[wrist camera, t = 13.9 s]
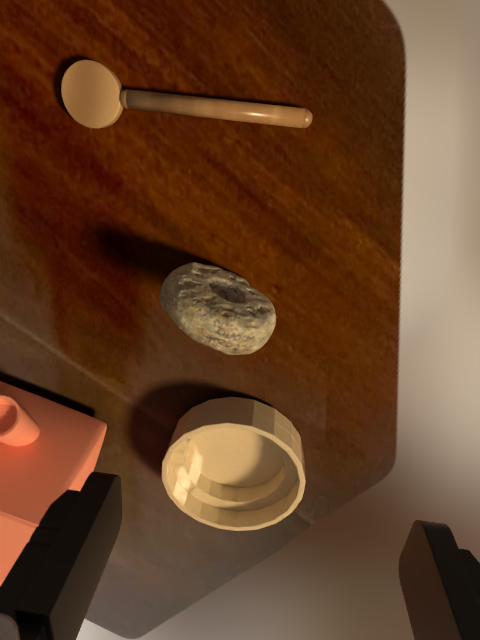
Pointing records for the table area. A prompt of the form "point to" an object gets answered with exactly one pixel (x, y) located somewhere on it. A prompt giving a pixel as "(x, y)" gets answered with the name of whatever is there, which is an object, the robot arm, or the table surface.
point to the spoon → (157, 101)
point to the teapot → (39, 462)
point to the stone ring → (218, 308)
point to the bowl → (234, 464)
